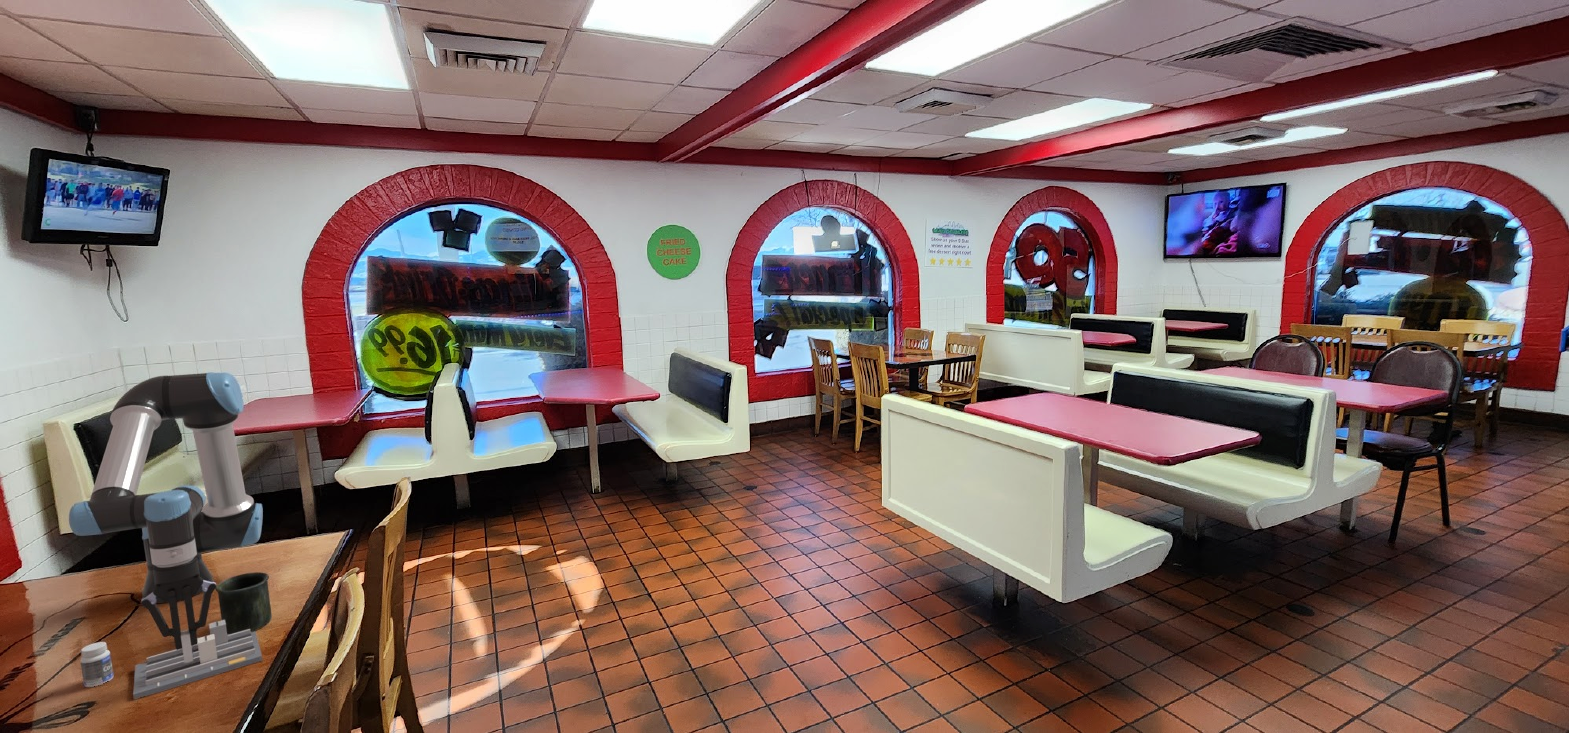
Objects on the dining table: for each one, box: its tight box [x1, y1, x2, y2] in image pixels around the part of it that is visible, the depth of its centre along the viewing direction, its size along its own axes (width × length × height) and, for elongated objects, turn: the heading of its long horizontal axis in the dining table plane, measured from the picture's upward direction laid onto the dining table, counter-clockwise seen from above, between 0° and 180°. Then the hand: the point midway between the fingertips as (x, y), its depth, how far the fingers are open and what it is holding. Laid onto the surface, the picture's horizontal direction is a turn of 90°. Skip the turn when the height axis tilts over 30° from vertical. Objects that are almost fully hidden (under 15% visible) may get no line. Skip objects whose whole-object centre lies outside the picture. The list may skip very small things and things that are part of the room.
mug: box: [214, 571, 273, 635], centre depth 178 cm, size 11×15×12 cm
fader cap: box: [197, 634, 218, 664], centre depth 158 cm, size 3×3×6 cm
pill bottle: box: [79, 641, 114, 688], centre depth 153 cm, size 5×5×8 cm
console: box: [132, 620, 263, 700], centre depth 159 cm, size 15×22×7 cm
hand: (188, 659), depth 156 cm, fingers closed
